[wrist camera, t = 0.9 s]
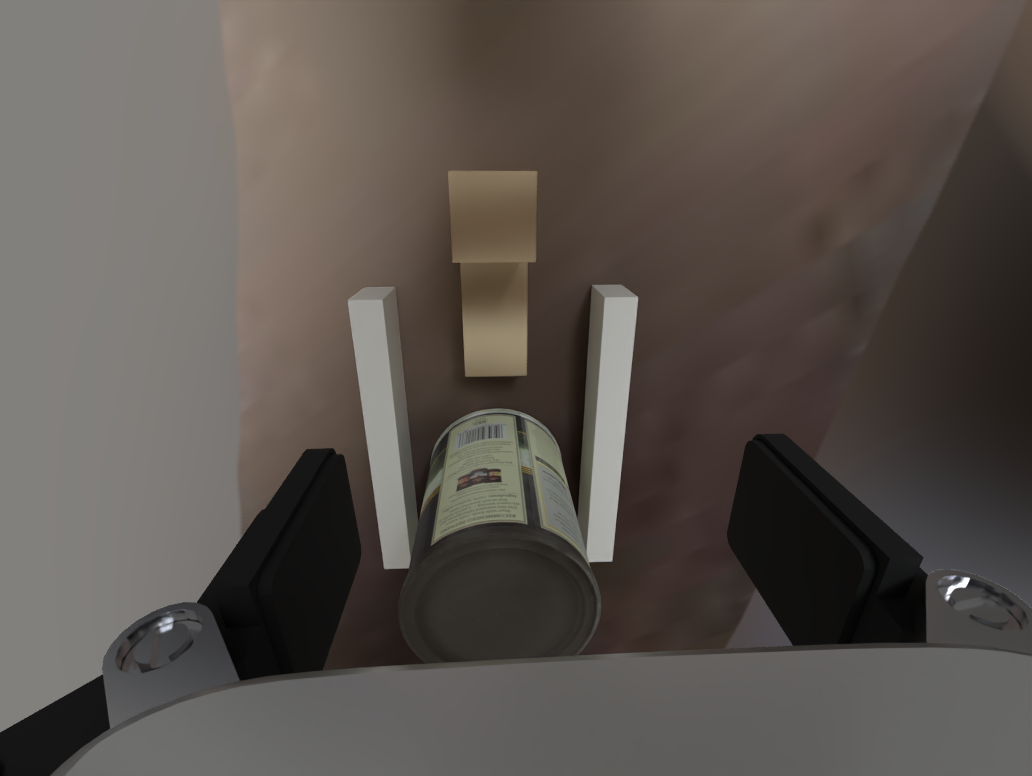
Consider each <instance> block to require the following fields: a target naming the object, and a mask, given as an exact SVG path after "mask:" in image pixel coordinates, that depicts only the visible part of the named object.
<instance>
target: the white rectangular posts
mask: <svg viewBox="0 0 1032 776" xmlns="http://www.w3.org/2000/svg"><path fill="white" fill-rule="evenodd" d="M637 305H638V297H637V296H636V295H635V294H633V293H632V292H631V291H629V290H628V289H627V288H625V287H624V286H623V285H592V290H591V307H590V323H589V339H588V356H587V372H586V389H585V405H584V422H583V438H582V455H581V471H580V488H579V504H578V524H579V528H580V531H581V535H582V539H583V543H584V546H585V550H586V554H587V557H588V561H589V562H608V561H612V558H613V548H614V538H615V528H616V517H617V507H618V497H619V487H620V477H621V467H622V457H623V447H624V437H625V426H626V416H627V406H628V396H629V386H630V376H631V366H632V356H633V346H634V335H635V325H636V315H637ZM348 308H349V315H350V322H351V330H352V337H353V344H354V352H355V359H356V366H357V373H358V381H359V388H360V395H361V403H362V410H363V417H364V425H365V432H366V439H367V446H368V454H369V461H370V468H371V476H372V483H373V490H374V498H375V505H376V512H377V519H378V527H379V534H380V541H381V549H382V556H383V563H384V569H400V568H409V565H410V560H411V555H412V550H413V546H414V541H415V536H416V532H417V527H418V515H417V505H416V494H415V484H414V474H413V463H412V453H411V443H410V433H409V422H408V412H407V402H406V391H405V381H404V371H403V360H402V350H401V340H400V330H399V319H398V309H397V299H396V288H395V287H364V288H362V289H361V290H360V291H359V292H357V293H356V294H355V295H353V296H352V297H351V298H349V299H348Z"/></svg>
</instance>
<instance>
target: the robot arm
mask: <svg viewBox="0 0 1032 776" xmlns="http://www.w3.org/2000/svg"><path fill="white" fill-rule="evenodd" d="M727 538H728V542H729V545H730V547H731V549H732V551H733V552H734V554H735V555H736V557H737V558H738V560H739V562H740V563H741V565H742V566H743V568H744V569H745V571H746V573H747V574H748V576H749V577H750V579H751V580H752V582H753V584H754V585H755V587H756V588H757V590H758V591H759V593H760V595H761V596H762V598H763V599H764V601H765V602H766V604H767V606H768V607H769V609H770V610H771V612H772V613H773V615H774V617H775V618H776V620H777V621H778V623H779V624H780V626H781V627H782V629H783V631H784V632H785V634H786V635H787V637H788V638H789V640H790V641H791V643H792V645H793V646H777V647H755V648H730V649H707V650H684V651H663V652H642V653H621V654H601V655H581V656H561V657H540V658H521V659H503V660H485V661H467V662H448V663H430V664H412V665H395V666H380V667H365V668H351V669H336V670H324V671H322V670H323V667H324V664H325V662H326V659H327V656H328V653H329V650H330V647H331V644H332V641H333V638H334V635H335V633H336V630H337V627H338V624H339V621H340V618H341V615H342V612H343V609H344V606H345V603H346V601H347V598H348V595H349V592H350V589H351V586H352V583H353V580H354V577H355V574H356V572H357V569H358V566H359V563H360V558H361V544H360V539H359V533H358V528H357V523H356V517H355V512H354V507H353V501H352V496H351V490H350V485H349V480H348V474H347V469H346V463H345V459H344V456H343V455H342V454H336V452H335V450H334V449H333V448H326V449H307V450H305V452H304V453H303V454H302V456H301V457H300V459H299V460H298V462H297V463H296V465H295V466H294V467H293V469H292V470H291V472H290V473H289V475H288V476H287V478H286V479H285V481H284V482H283V484H282V485H281V487H280V488H279V489H278V491H277V492H276V494H275V495H274V497H273V498H272V500H271V501H270V503H269V504H268V506H267V507H266V509H264V510H262V511H261V512H260V513H259V514H258V515H257V516H256V518H255V519H254V521H253V522H252V524H251V525H250V526H249V528H248V529H247V531H246V532H245V534H244V535H243V537H242V538H241V539H240V541H239V542H238V544H237V545H236V547H235V548H234V550H233V551H232V553H231V554H230V555H229V557H228V558H227V560H226V561H225V563H224V564H223V566H222V567H221V568H220V570H219V571H218V573H217V574H216V576H215V577H214V578H213V580H212V581H211V583H210V584H209V586H208V587H207V589H206V590H205V591H204V593H203V594H202V596H201V597H200V599H199V600H198V601H197V603H192V602H183V603H178V604H174V605H169V606H167V607H164V608H161V609H158V610H156V611H153V612H151V613H150V614H148V615H146V616H144V617H143V618H141V619H139V620H137V621H136V622H135V623H133V624H132V625H131V626H130V627H128V628H127V629H126V630H124V631H123V632H122V633H121V634H120V635H119V637H118V638H117V639H116V640H115V641H114V642H113V643H112V644H111V646H110V647H109V649H108V651H107V653H106V655H105V656H104V660H103V667H102V671H103V675H101V676H99V677H97V678H96V679H94V680H92V681H91V682H89V683H87V684H85V685H83V686H82V687H80V688H78V689H76V690H75V691H73V692H71V693H69V694H68V695H66V696H64V697H62V698H60V699H59V700H57V701H55V702H53V703H52V704H50V705H48V706H46V707H45V708H43V709H41V710H39V711H37V712H36V713H34V714H32V715H30V716H29V717H27V718H25V719H24V720H21V721H20V722H18V723H16V724H14V725H13V726H11V727H9V728H7V729H6V730H4V731H2V732H0V776H1032V608H1031V607H1030V606H1029V605H1028V604H1027V603H1026V602H1025V601H1023V600H1022V599H1020V598H1019V597H1018V596H1016V595H1015V594H1014V593H1012V592H1011V591H1009V590H1007V589H1005V588H1004V587H1002V586H1000V585H998V584H997V583H995V582H993V581H990V580H988V579H985V578H982V577H980V576H978V575H975V574H971V573H968V572H964V571H959V570H951V569H943V570H935V571H934V572H932V573H930V574H928V575H927V574H926V573H925V572H924V571H923V570H922V569H921V568H920V567H919V566H920V564H921V562H922V559H923V557H922V556H921V555H920V554H919V553H918V552H917V551H916V550H915V549H913V548H912V547H911V546H910V545H909V544H908V543H906V541H904V540H903V539H902V538H901V537H900V536H899V535H898V534H897V533H895V532H894V531H893V530H892V529H891V528H890V527H889V526H888V525H886V524H885V523H884V522H883V521H882V520H881V519H880V518H879V517H877V516H876V515H875V514H874V513H873V512H872V511H871V510H870V509H868V508H867V507H866V506H865V505H864V504H862V502H861V501H859V500H858V499H857V498H856V497H855V496H854V495H853V494H852V493H850V492H849V491H848V490H847V489H846V488H845V487H844V486H843V485H841V484H840V483H839V482H838V481H837V480H836V479H835V478H834V477H832V476H831V475H830V474H829V473H828V472H827V471H826V470H825V469H823V468H822V467H821V466H820V465H819V464H818V463H817V462H816V461H814V460H813V459H812V458H811V457H810V456H809V455H808V454H806V453H805V452H804V451H803V450H802V449H801V448H800V447H799V446H797V445H796V444H795V443H794V442H793V441H792V440H791V439H790V438H788V437H787V436H786V435H784V434H758V435H756V436H755V437H754V438H753V440H752V441H748V442H747V444H746V446H745V450H744V455H743V460H742V465H741V469H740V474H739V479H738V483H737V488H736V493H735V497H734V502H733V507H732V512H731V516H730V521H729V526H728V531H727Z"/></svg>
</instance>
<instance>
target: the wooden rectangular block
mask: <svg viewBox="0 0 1032 776" xmlns="http://www.w3.org/2000/svg"><path fill="white" fill-rule="evenodd" d="M448 185H449V205H450V224H451V244H452V263H460V270H461V293H462V315H463V337H464V360H465V377H482V376H527V294H528V262H536V222H537V171H448Z"/></svg>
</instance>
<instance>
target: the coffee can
mask: <svg viewBox="0 0 1032 776" xmlns="http://www.w3.org/2000/svg"><path fill="white" fill-rule="evenodd" d="M600 614H601V597H600V591H599V588H598V584H597V581H596V579H595V576H594V574H593V572H592V570H591V568H590V564H589V561H588V557H587V554H586V550H585V546H584V543H583V539H582V535H581V531H580V528H579V524H578V520H577V516H576V513H575V509H574V505H573V501H572V498H571V494H570V491H569V487H568V483H567V479H566V476H565V472H564V468H563V464H562V457H561V453H560V449H559V446H558V444H557V442H556V440H555V438H554V437H553V435H552V434H551V433H550V431H549V430H548V429H547V428H546V427H545V426H544V425H542V424H541V423H540V422H539V421H538V420H536V419H534V418H533V417H531V416H529V415H527V414H525V413H522V412H519V411H515V410H511V409H503V408H495V409H485V410H480V411H476V412H473V413H470V414H467V415H465V416H463V417H462V418H460V419H458V420H457V421H455V422H454V423H452V424H451V425H450V426H449V427H448V428H447V429H446V430H445V431H444V432H443V433H442V434H441V436H440V437H439V439H438V440H437V442H436V444H435V446H434V449H433V451H432V455H431V461H430V470H429V475H428V481H427V484H426V490H425V494H424V499H423V504H422V509H421V514H420V518H419V523H418V527H417V532H416V536H415V541H414V546H413V550H412V555H411V560H410V565H409V570H408V575H407V577H406V579H405V581H404V583H403V587H402V590H401V593H400V597H399V603H398V620H399V625H400V629H401V632H402V635H403V637H404V639H405V641H406V642H407V644H408V646H409V647H410V648H411V650H412V651H413V652H414V653H415V654H416V655H417V656H418V657H419V658H420V659H421V660H422V661H424V662H425V663H426V664H430V663H448V662H467V661H485V660H503V659H521V658H540V657H561V656H577V655H578V654H579V653H580V652H581V651H582V650H583V649H584V648H585V646H586V645H587V644H588V643H589V641H590V640H591V638H592V636H593V635H594V633H595V631H596V628H597V625H598V623H599V619H600Z"/></svg>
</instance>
